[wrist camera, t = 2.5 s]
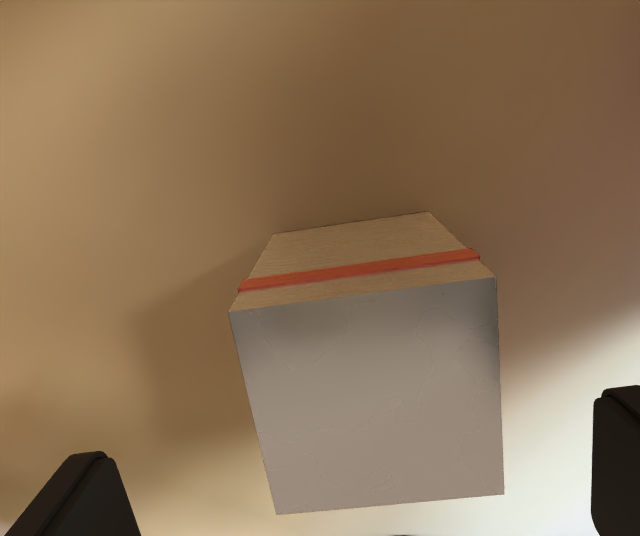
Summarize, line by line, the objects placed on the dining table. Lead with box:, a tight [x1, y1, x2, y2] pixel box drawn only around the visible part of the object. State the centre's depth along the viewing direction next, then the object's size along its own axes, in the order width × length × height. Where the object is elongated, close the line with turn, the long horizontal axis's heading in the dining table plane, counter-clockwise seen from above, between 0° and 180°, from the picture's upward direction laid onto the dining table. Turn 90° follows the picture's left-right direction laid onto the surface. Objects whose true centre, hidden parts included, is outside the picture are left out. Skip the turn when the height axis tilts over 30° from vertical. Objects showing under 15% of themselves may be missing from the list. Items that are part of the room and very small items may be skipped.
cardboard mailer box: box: [228, 212, 504, 515], centre depth 13 cm, size 6×6×7 cm
